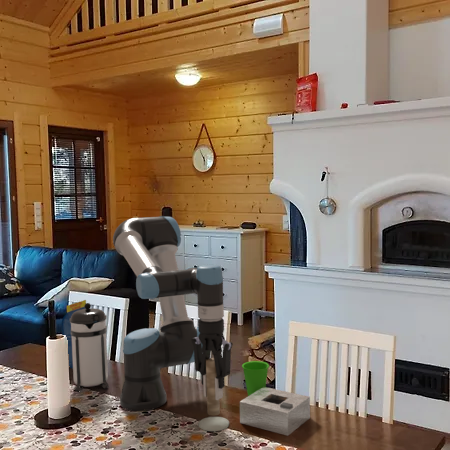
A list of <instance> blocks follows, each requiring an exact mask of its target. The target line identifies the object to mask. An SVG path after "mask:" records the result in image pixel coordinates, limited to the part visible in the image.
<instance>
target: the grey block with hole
mask: <svg viewBox="0 0 450 450" xmlns="http://www.w3.org/2000/svg"><path fill="white" fill-rule="evenodd" d="M309 419H311V396H308V395H303V394H300V393H299V394H298V393H293V392H291V391H290V392H289V391H285V390H282V389H281V390H280V389H276V388H271V387H267V386H266V387H263V388H261V389H259V390H258V391H256V392H254V393H253V394H251V395H250V396H248V395H247V396H246V397H245V398H243V399H241V400H240V401H239V423H240V424H243V425H246V426H250V427H254V428H258V429H262V430H266V431H268V432H272V433H276V434H280V435H284V436H287V437H289V435H291V434H292V433H294V431H296V429H298V428H300V427H301V426H302V425H303V424H305V423H306V422H307V421H308V420H309Z"/></svg>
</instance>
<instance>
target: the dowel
mask: <svg viewBox="0 0 450 450" xmlns="http://www.w3.org/2000/svg"><path fill="white" fill-rule="evenodd" d="M216 376H217V373H216V367H215V361H214V357H210V358H208V359H206V380H207V397H206V406H207V407H206V408H207V409H206V411H207V415H209V416H210V417H216V416H218V415H220V409H221V408H220V399H219V400H216V399H215V378H216Z"/></svg>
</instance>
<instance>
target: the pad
mask: <svg viewBox="0 0 450 450" xmlns="http://www.w3.org/2000/svg"><path fill="white" fill-rule="evenodd" d="M228 427H230V421H229V419H227V418H225V417H222V416H208V417H205V418H202V419H201V420H199V421H198V428H199V429H201V430H203V431H205V432H221V431H224V430H226V429H227V428H228Z"/></svg>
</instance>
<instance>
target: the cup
mask: <svg viewBox="0 0 450 450" xmlns="http://www.w3.org/2000/svg"><path fill="white" fill-rule="evenodd" d="M269 367H270V365H269V363H268V362H266V361H260V360H251V361H246V362H244V363H243V364H242V365H241V369H243V375H244V380H245V386H246V391H247V392H246V393H247V397H248V396H250V395H251V394H253V393H254V392H256V391H258V390H259V389H261V388H263V387H267V378H268V372H269V371H268V370H269Z"/></svg>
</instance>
